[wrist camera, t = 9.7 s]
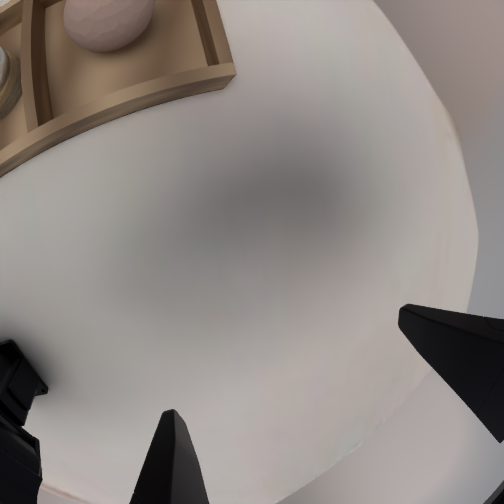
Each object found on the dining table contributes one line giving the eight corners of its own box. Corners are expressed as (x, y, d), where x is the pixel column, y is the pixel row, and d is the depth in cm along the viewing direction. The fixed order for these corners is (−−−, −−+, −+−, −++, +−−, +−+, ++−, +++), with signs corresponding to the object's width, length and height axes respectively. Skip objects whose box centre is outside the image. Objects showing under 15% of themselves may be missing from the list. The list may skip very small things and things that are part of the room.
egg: (142, -5, 11) (141, -68, 5) (165, 44, 13) (170, -16, 7) (73, 26, 10) (41, -24, 4) (91, 79, 13) (54, 37, 6)
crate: (-20, 191, 12) (-45, 198, 9) (-30, 57, 7) (-50, 48, 4) (223, 88, 16) (236, 74, 13) (189, -38, 11) (196, -62, 8)
